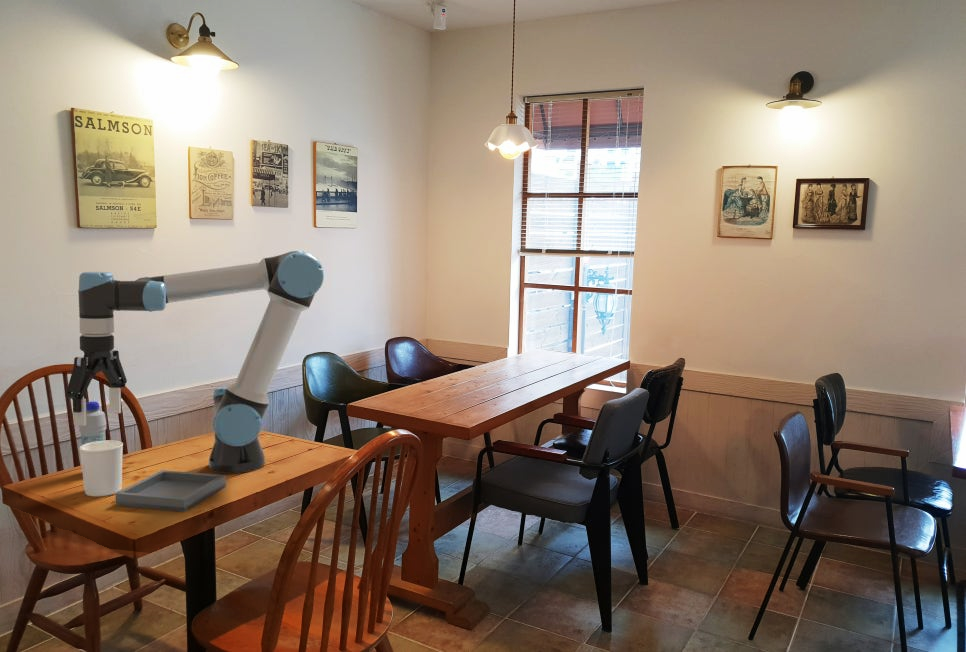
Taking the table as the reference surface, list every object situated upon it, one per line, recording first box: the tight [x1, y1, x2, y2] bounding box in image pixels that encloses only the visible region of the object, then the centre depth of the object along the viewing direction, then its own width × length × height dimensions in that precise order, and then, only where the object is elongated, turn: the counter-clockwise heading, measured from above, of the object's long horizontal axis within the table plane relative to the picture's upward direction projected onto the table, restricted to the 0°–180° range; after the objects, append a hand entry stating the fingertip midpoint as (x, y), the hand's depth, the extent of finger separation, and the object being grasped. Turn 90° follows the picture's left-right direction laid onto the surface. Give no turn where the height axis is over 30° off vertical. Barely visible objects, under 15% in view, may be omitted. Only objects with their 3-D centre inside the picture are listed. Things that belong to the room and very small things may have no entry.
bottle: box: [78, 400, 107, 446], centre depth 199 cm, size 7×7×20 cm
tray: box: [114, 469, 227, 513], centre depth 184 cm, size 18×18×3 cm
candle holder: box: [78, 439, 124, 498], centre depth 186 cm, size 10×10×12 cm
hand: (98, 418), depth 183 cm, fingers open, 13 cm apart
